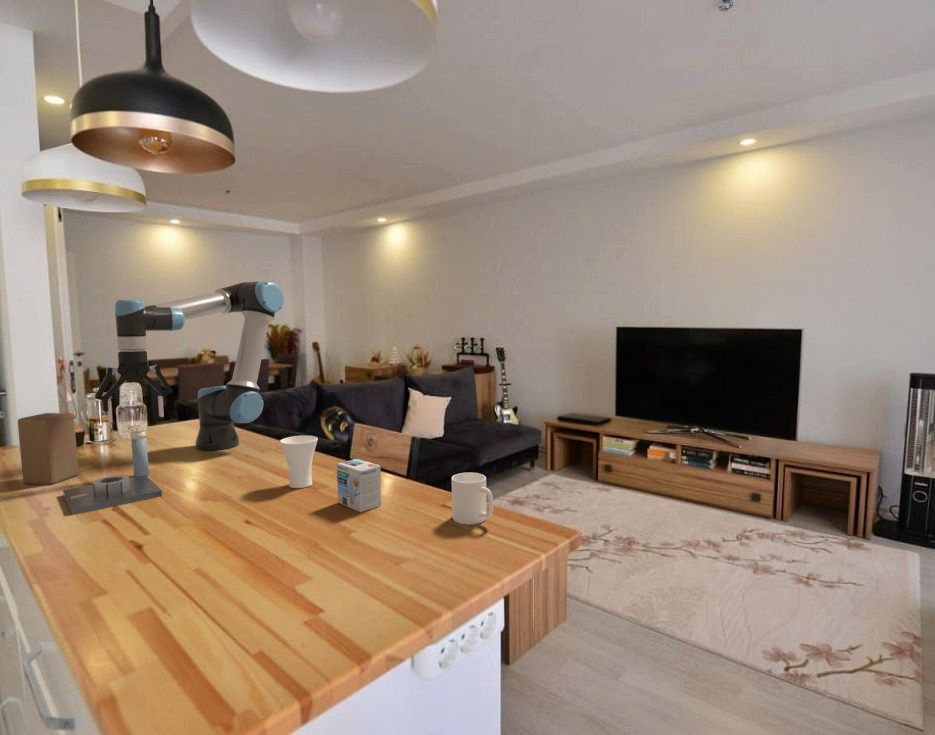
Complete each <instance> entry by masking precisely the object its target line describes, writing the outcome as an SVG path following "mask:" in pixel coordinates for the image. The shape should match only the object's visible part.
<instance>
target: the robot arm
mask: <svg viewBox="0 0 935 735" xmlns="http://www.w3.org/2000/svg"><path fill="white" fill-rule="evenodd" d="M284 303H285V298H284V294H283V291H282V290H281V288H280V286H279V285H278V284H276V283H275V282H272V281H268V280H267V281H266V280H260V281H249V282H247V281H244V282H239V283H236V284H233V285H230V286H225V287H222V288H217V289H216V290H214V292H210V293H205V294H201V295H197V296H192V297H186V298H182V299H175V300H171V301H166V302H161V303H157V304H152V305H145V302H144V300H143V299H142V300H141V299H118V300H116V301H115V308H114V309H115V312H114V316H115V326H116V340H117V341H116V342H117V344H116V345H117V350H118V351H119V352H117V357H118V360H117V362H118V367H109V366H108V367H106V370H105V376H104V377H103V380H102V381H101V383H100V385H99V387H98V389H97V391H96V393H95V395H94V398H95V400H99V401H101V403H102V410H103V412H105V413H107V422H108V423H110V424H111V423H113V407H112V400H110V398H111V397H112V396H113V395H114V394H115V392H116V391H117V390H118V389H119V388H120V387H121V386H122V385H123V384H124V383H125V382H126V381H127V382H134V381H138V382H139V381H143V380H144V381H145V382H146V383H147V384H149V385H150V386H151V387H152V388H153V389H154V390H155V391H156V392H157V393H158V394H160V395H158V396H157V401H158V404H157V405H158V416H159V417H160V418H164V417H165V415H164V410H165V409H164V407H165V406H167V405H168V401H167V396H169V394H173V393H174V391H173V388H171V386H170V385H169V383H168V381H167V380H166V378H165V377H164V375H163V373H162V372H161V367H160V365H159V364H154V365H150V366H149V364H148V363H149V362H148V361H149V360H148V352H147V351H146V350H147V349H148V347H147V346H148V345H147V344H148V343H147V332H151V331H154V332H155V331H156V332H157V331H158V332H159V331H161V332H164V331H168V332H169V331H170V332H173V331H180V330H181V329H182V328H184V325H185V323H186V322H185V321H189V320H192V319H197V318H201V317H204V316H210V315H214V314H218V313H221V314H224V315H225V314H229V313H241V314H242V316H243V317H244V322H243V324H242V330H241V336H240V340H239V345H238V350H237V355H236V359H235V363H234V368H233V369H234V370H233V374H232V378H231V380H229V381H228V382H227V383H226V384H225V385H220V386H211V387H205V388H200V389H199V390H198V392H197V406H198V418H199V420H198V421H199V429H198V433H197V435H196V436H197V437H196V440H195V449H196V450H198V451H218V450H225V449H226V450H227V449H231V448H234V447H238V446H239V445H240V438H239V434H238V432H237V430H236V427H235V425H234V423H239V424H248V423H251V422H252V423H253V421H255V420H256V419H258V418H259V417H260V415H261V414H262V412H263V408H264V400H263V399H262V398H263V397H262V396H261V395H260V391H261V389H260V387H259V385H258V384H257V383H258V378H259V374H260V370H261V369H260V368H261V363H262V358H263V353H264V348H265V343H266V338H267V333H268V328H269V323H270V322H272V321H273V320H274V319H275V315H276V312H279V311H280V310H281V309H282V308H283V305H284ZM150 371H152V373H154V374H155V376H156V377H157V380H159V382H160V384H161V385H162V387H163V388H164V389H162V387H160V385H158V384H157V383H156V382H155V381H154V380H153V379H152V378H151V377H149V375H147V374H148V373H149V372H150ZM116 373H118V375H120V376H119V377H118V378H117V380H116V381H115V383H114V384H112V386H110V388H109V389H108V390H107V391H106V392H105V390H106V388H107V386H108V384H109V383H110V381H111V379H112V376H114V375H115V374H116ZM104 392H105V394H104Z"/></svg>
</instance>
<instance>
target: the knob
mask: <svg viewBox="0 0 935 735" xmlns="http://www.w3.org/2000/svg"><path fill="white" fill-rule="evenodd" d="M130 440H131V441H130V442H131V454H132V467H133V468H132V469H133V477H138V476H144V475H146V476H147V477H148V476H149V475H150V472H149V471H150V469H149V457H148V456H149V455H148V454H149V453H148V442H147V441H148V439H147V431H146V430H144V429H143V430H142V429H141V428H138V429H137V428H136V430H135V431H131V432H130Z"/></svg>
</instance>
